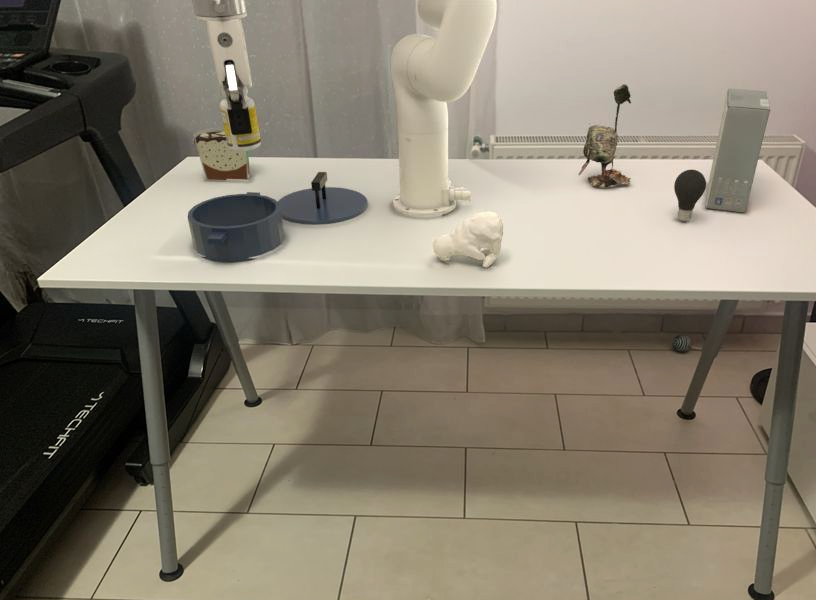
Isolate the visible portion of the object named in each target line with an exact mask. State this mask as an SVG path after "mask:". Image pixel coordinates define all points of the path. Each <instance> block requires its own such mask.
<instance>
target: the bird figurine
mask: <svg viewBox="0 0 816 600" xmlns="http://www.w3.org/2000/svg"><path fill="white" fill-rule="evenodd" d="M613 96H614V98H613V99H614V101H615V103H616V105H617V106H616V114H615V115H616V116H615V119H614V121H615V122H614V127H610V126H604V125H601V124H595V125H591V123H588V125H591V126H589V127H588V130H587V134H586V141H585V144H584V146H583V151H582V154H583V157H585V158H586V161H585V163H583V165H582V166H581V169H580V170H579V172H578V174H577V175H578V176H580V175H581V174H582V173H583V172H584V170H586V168H587V166H588V165H589V164H590V161H592V162H595V163H600V167H601V173H600V174H597V175H591V176H588V177H587V181H588V183H589V184H590V186H593V187H595V188H610V187H611V188H614V187H616V186H618V185H630V184H631V179H632V178H630V177H627V176H626V175H624V174H622V171H621V170H617V169H615V168H613V167H614V159H615V154H616V151H617V146H618V142H619V138H618V137H619V135H618V132H617V130H618V128H617V126H618V119H619V113H620V107H621V105H622V104H624V103H626V102H628V104H632V101H631V99H630V98H631V92H630V90H629V86H628V85H627V84H626V83H624V84H622V85H620V86H618V87H616V88H615V89H614V90H613ZM610 164H611V168H610V169H607V167H608V165H610Z"/></svg>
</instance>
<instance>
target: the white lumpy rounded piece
mask: <svg viewBox="0 0 816 600" xmlns="http://www.w3.org/2000/svg"><path fill="white" fill-rule="evenodd" d="M503 236H504V224H503V219H502V217H501V216H500V215H499V214H498V213H496V212H493V211H481V212H477V213H474V214H472V215H471V216H470V217H468V218H466V219H465V220H463V221H462V223H461V224H459V225H457V226H456V228H454V230H452V231H450V232H449V233H444V234H441V235H439V236H437V237H436V238H435V239H434V241H433V244H432V249H433V253H434V254H435V255H436V256H437V257H438V258H439V259H440V260H441V261H444V262H445V263H447V264H449V260H451V256H452V255H461V256H468V257H470V258H472V259H475V260H479V261H482V267H483V268H485V269H486V268H489V266H492V264H493V263H494V262H495V261H496V260H497V258H498V256H499V254H500V250H501V248H502V240H503ZM481 250H482V251H481Z"/></svg>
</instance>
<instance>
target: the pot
mask: <svg viewBox="0 0 816 600" xmlns="http://www.w3.org/2000/svg"><path fill="white" fill-rule="evenodd" d="M187 222H188V226H189V231H190V235H191V241H192V245H193V248H194V250H195V251H196V253H197V254H199V255H201V258H202V259H205V260H208V261H211V262H217V263H242V262H249V261H254V260H256V258H254V257H258V256H263V255H265V254H267V253H269V252H273V251H274V250H275V249H277V248H278V247H280V246H281V245H282V244H283V242H284V240H285V239H286V238H285V230H284V224H283V218H282V216H281V209H280V203H278V200H276V199H275V198H273V197H270V196H268V195H263V194H261V192H257V191H255V192H252V191H247V192H246V193H235V194H226V195H221V196H216V197H213V198H209V199H206V200H204V201H201V202H199V203H197V204H196V205H194V206H192V208H190V209H189V210H188V212H187Z"/></svg>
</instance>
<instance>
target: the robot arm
mask: <svg viewBox="0 0 816 600" xmlns="http://www.w3.org/2000/svg"><path fill="white" fill-rule="evenodd" d="M192 6H193V11H194V16H195V20H197V21H204V24H205V25H204V26H205V29H206V35H207V40H208V44H209V49H210V55H211V58H212V62H213V67H214V71H215V75H216V79H217V82H218V85H219V88H220V89H222V90H225V93H226V98H227V104H228V109H227V112H228V117H229V123H230V128H231V133H232V135H242V134H251V133H252V128H251V122H250V116H249V110H248V107H246V102H245V96H244V89H243V85H244V86H247V89H251V88H252V87H253V81H252V74H251V73H252V72H251V68H250V60H249V55H248V48H247V43H246V36H245V32H244V31H245V30H244V27H243V22H242V19H244V18H246V17H248V11H247V4H246V0H192ZM497 8H498V7H497V0H417V13H418V15H419V18H420V20H421V21H422V22H423V24H425V25H426V26H427V27H429V28H431V29H433V30H436V31H438V32H437V34H436V37H434V36H430V35H427V34H422V33H412V34H408V35H405V36H404V37H403V38H401V39H399V40H398V42H397V43H396V44H395V46H394V48H393V50H392V51H391V55H390V62H389V63H390V64H389V67H390V76H391V82H392V87H393V91H394V99H395V106H396V120H397V121H396V123H397V125H396V126H397V149H398V150H397V151H398V172H399V173H398V174H399V176H398V177H399V194H397V195H396V196H395V197H394V198H393V199H392V207H393V209H394V210H395V211H397V212H399V213H401V214H404V215H409V216H417V217H427V216H428V217H429V216H437V215H442V216H444V215H447V214H449V213H451V212H453V210H455V209H456V206H457V201H461V202H463V201H465V202H471V200H472V199H471V198H472V191H471V190H466V187H454V185H452V180H451V179H449V111H448V104H447V103H451V102H454V101H457V100H459V99H460V98H462V97H463V96H465V94H466V93H467V91H468V90H469V88H470V87H471V85H472V83H473V81H474V79H475V76H476V74H477V71H478V68H479V67H480V64H481V61H482V59H483V56H484V54H485V51H486V48H487V46H488V43H489V41H490V38H491V35H492V33H493V29H494V27H495V24H496V19H497V10H498V9H497ZM239 83H240V87H237V84H239ZM227 84H229V88H227ZM222 90H221V91H222ZM238 92H240V93H241V94H240V93H238ZM229 93H230V94H229Z"/></svg>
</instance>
